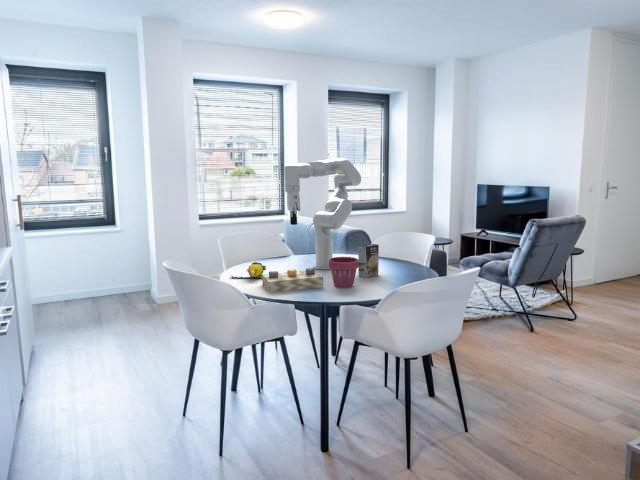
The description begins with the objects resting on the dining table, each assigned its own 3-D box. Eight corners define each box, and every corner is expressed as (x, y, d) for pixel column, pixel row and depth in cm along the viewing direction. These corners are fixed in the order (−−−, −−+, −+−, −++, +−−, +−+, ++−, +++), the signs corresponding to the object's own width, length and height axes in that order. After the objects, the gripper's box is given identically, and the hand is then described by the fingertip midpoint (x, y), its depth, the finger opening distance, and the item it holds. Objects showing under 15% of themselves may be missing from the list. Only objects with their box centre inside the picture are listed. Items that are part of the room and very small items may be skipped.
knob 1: (277, 282, 229) (277, 270, 228) (279, 284, 225) (279, 272, 224) (268, 283, 228) (267, 271, 227) (270, 285, 224) (269, 273, 223)
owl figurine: (224, 264, 242) (233, 259, 257) (225, 281, 243) (234, 275, 258) (279, 264, 239) (285, 259, 254) (279, 281, 240) (285, 275, 255)
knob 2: (313, 279, 234) (313, 267, 233) (316, 281, 230) (315, 269, 229) (304, 280, 233) (304, 268, 232) (307, 282, 229) (306, 270, 228)
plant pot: (363, 287, 223) (363, 260, 221) (334, 290, 219) (334, 263, 217) (352, 281, 236) (352, 255, 234) (325, 283, 232) (324, 257, 230)
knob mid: (295, 280, 232) (295, 269, 231) (297, 282, 228) (297, 271, 227) (286, 281, 230) (286, 270, 230) (288, 283, 226) (288, 271, 225)
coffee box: (367, 278, 242) (367, 246, 239) (358, 276, 246) (357, 245, 244) (379, 275, 248) (378, 244, 245) (369, 273, 252) (369, 243, 250)
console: (313, 279, 241) (313, 270, 240) (323, 287, 225) (323, 276, 225) (262, 284, 233) (262, 274, 232) (269, 292, 218) (268, 281, 217)
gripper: (303, 189, 239) (304, 225, 242) (295, 188, 253) (297, 222, 256) (288, 189, 237) (290, 226, 240) (282, 188, 251) (283, 223, 254)
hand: (293, 224), depth 248 cm, fingers closed
